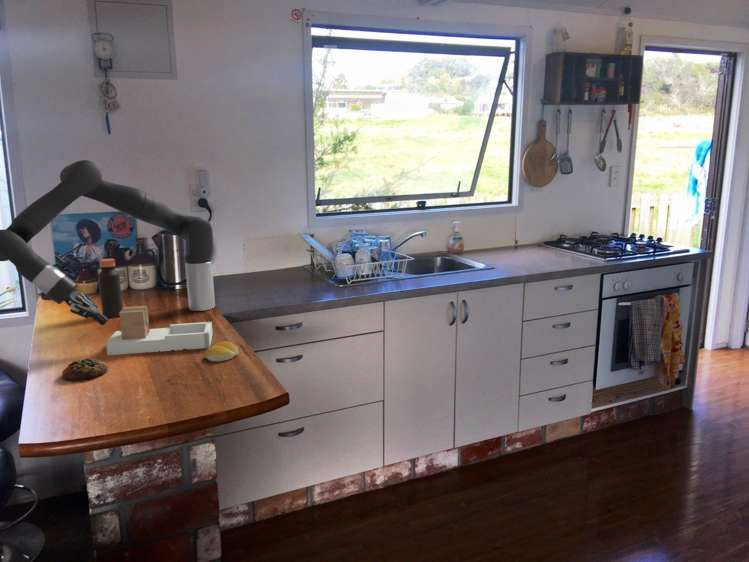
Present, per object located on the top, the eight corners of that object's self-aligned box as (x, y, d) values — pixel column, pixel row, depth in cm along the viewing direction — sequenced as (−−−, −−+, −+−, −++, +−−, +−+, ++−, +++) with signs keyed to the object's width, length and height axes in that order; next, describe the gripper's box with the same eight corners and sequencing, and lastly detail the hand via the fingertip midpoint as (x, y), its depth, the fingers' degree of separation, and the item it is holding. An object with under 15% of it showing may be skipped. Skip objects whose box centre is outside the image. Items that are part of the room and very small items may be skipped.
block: (126, 333, 184) (123, 307, 182) (149, 331, 185) (146, 305, 183) (122, 339, 178) (119, 312, 176) (145, 338, 179) (143, 311, 177)
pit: (171, 338, 190) (170, 324, 189) (212, 335, 192) (211, 321, 191) (166, 351, 178) (164, 336, 177) (209, 347, 180) (208, 333, 179)
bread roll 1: (73, 385, 153) (70, 365, 153) (55, 381, 161) (52, 362, 160) (116, 374, 162) (113, 355, 161) (97, 370, 169) (95, 352, 168)
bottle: (116, 318, 213) (109, 261, 208) (98, 318, 214) (91, 261, 210) (127, 313, 219) (121, 258, 215) (110, 312, 221) (104, 257, 216)
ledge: (116, 342, 187) (115, 331, 186) (171, 338, 190) (170, 327, 189) (107, 355, 175) (106, 343, 175) (166, 351, 178) (165, 339, 177)
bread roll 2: (199, 360, 170) (198, 347, 169) (219, 350, 178) (218, 337, 177) (224, 364, 167) (223, 350, 166) (243, 353, 175) (242, 340, 174)
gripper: (56, 279, 168) (109, 319, 173) (70, 269, 181) (119, 307, 185) (38, 299, 168) (91, 339, 173) (53, 288, 181) (102, 325, 186)
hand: (105, 322), depth 179 cm, fingers closed
